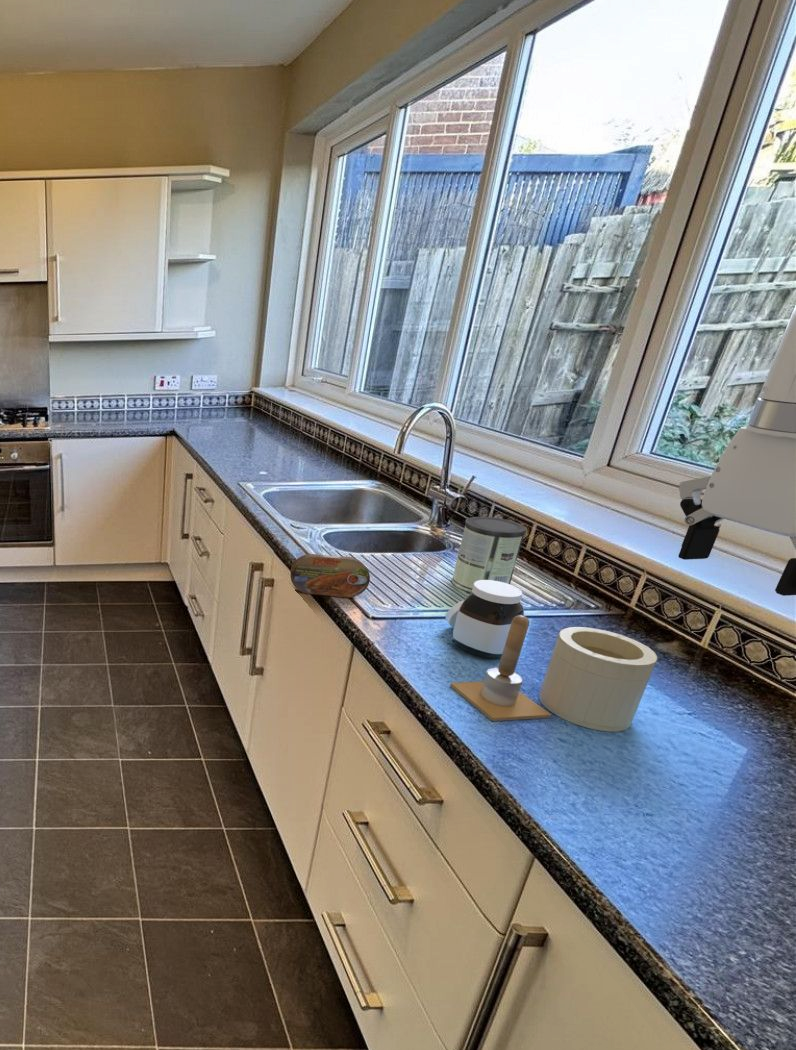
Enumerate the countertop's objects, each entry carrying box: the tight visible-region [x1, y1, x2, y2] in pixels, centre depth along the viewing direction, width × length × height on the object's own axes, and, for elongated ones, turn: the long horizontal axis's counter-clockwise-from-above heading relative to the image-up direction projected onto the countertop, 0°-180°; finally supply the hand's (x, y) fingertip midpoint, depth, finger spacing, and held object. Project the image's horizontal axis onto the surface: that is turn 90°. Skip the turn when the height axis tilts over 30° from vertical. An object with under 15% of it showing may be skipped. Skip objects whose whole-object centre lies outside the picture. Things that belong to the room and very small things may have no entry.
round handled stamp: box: [481, 615, 530, 706], centre depth 91 cm, size 4×4×14 cm
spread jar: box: [445, 580, 525, 659], centre depth 108 cm, size 12×11×12 cm
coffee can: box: [451, 516, 527, 594], centre depth 129 cm, size 10×10×14 cm
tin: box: [290, 553, 371, 599], centre depth 128 cm, size 15×3×8 cm, turn 73°
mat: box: [449, 680, 552, 722], centre depth 94 cm, size 9×9×1 cm
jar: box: [538, 626, 659, 733], centre depth 90 cm, size 11×11×11 cm
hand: (738, 574), depth 68 cm, fingers open, 9 cm apart
